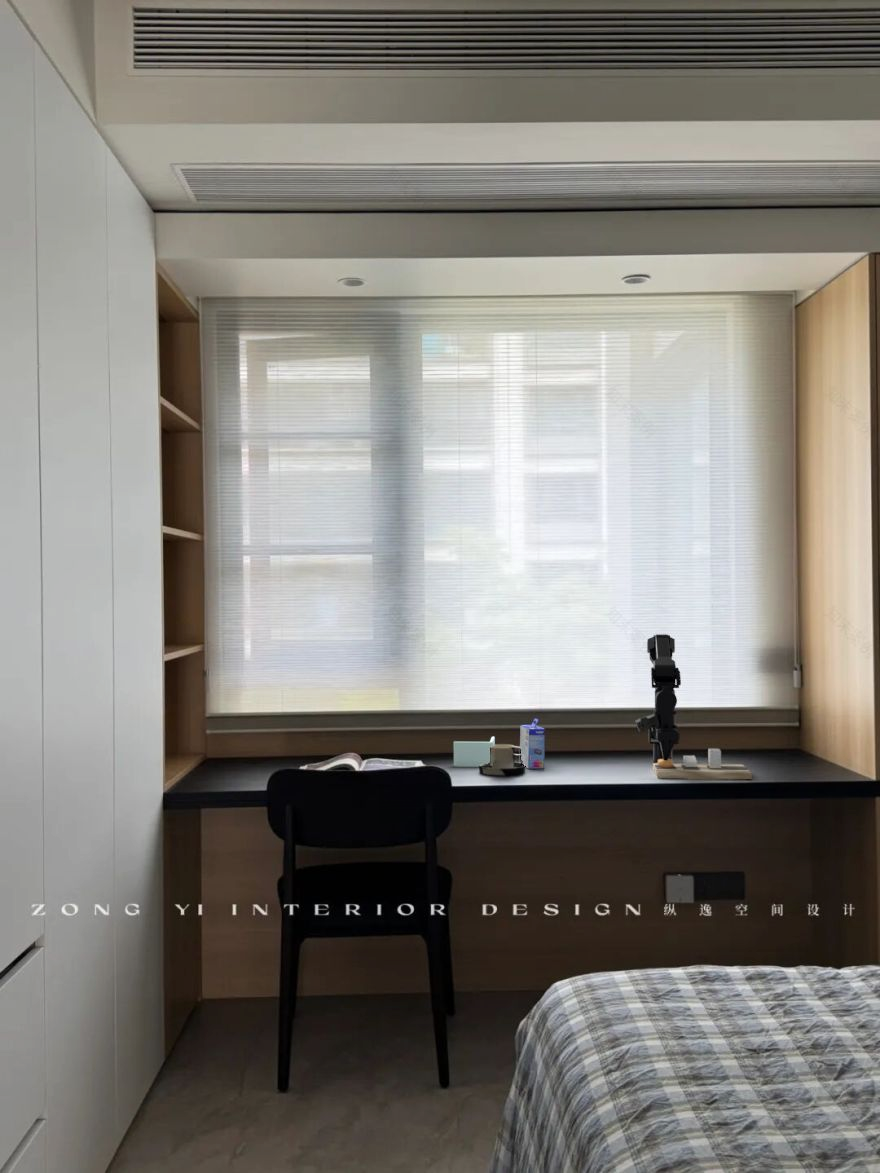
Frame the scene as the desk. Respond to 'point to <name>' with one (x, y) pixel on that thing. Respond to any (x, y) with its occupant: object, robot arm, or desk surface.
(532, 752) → the ink cartridge box
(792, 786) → the desk surface
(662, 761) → the orange button
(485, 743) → the right angle wall
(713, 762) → the metal slider
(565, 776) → the desk surface
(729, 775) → the control panel
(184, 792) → the desk surface
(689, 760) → the block
